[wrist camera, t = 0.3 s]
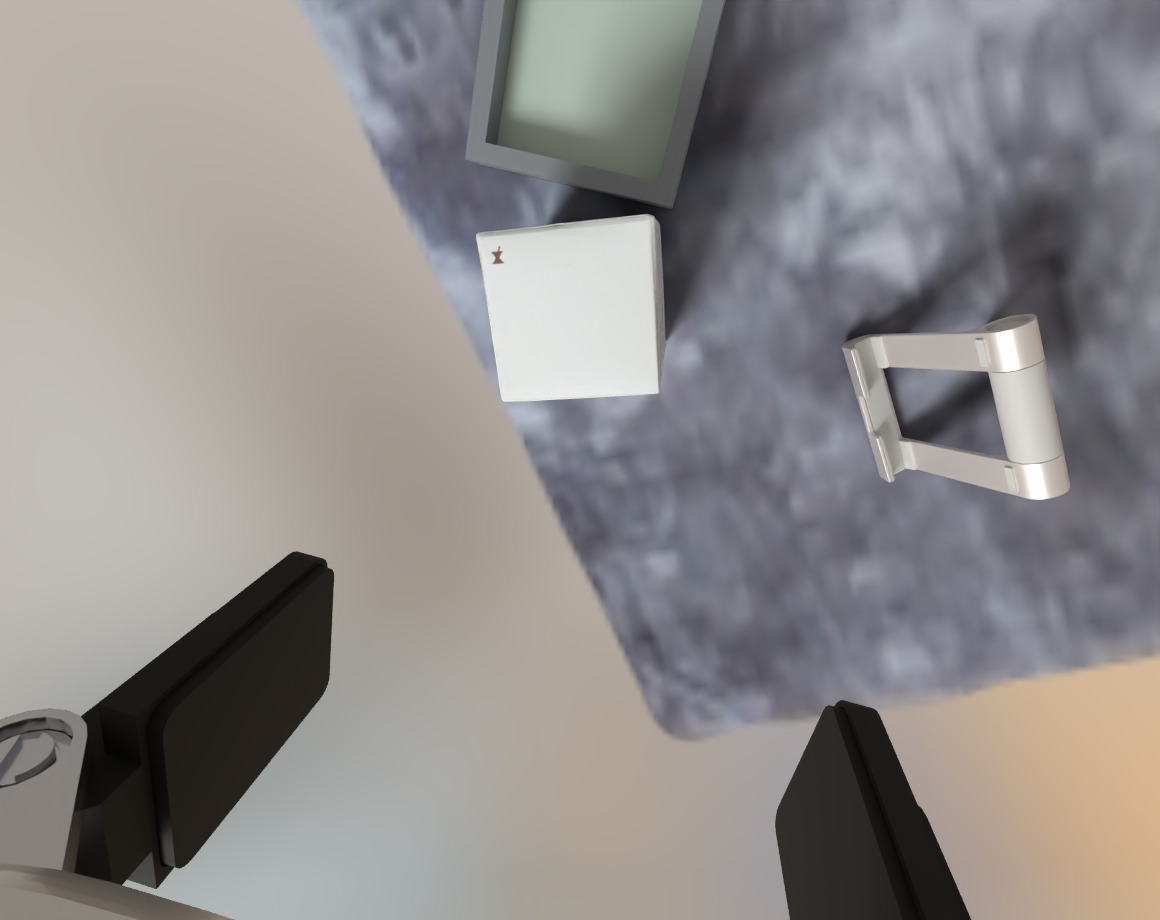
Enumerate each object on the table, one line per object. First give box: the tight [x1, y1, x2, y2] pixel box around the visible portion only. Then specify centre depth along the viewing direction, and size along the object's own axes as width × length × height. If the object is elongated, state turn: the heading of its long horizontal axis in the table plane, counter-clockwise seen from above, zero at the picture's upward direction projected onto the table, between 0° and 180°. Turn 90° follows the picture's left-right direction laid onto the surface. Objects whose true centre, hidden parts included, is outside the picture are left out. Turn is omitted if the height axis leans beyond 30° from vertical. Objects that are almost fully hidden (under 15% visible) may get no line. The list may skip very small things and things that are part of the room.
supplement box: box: [476, 214, 666, 402], centre depth 30 cm, size 7×7×13 cm
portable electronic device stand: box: [842, 314, 1070, 499], centre depth 31 cm, size 9×8×8 cm
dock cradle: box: [465, 0, 726, 210], centre depth 30 cm, size 12×12×3 cm
